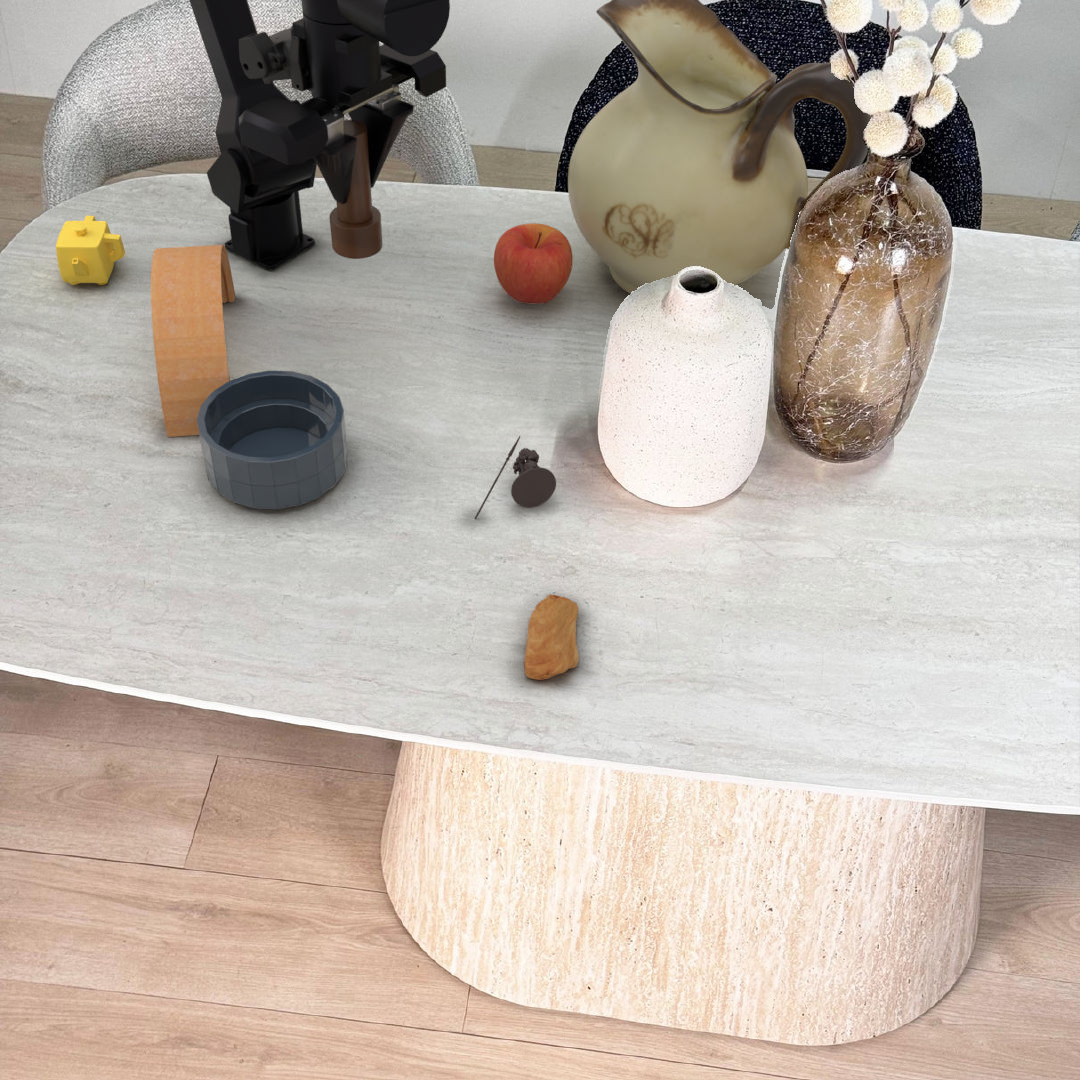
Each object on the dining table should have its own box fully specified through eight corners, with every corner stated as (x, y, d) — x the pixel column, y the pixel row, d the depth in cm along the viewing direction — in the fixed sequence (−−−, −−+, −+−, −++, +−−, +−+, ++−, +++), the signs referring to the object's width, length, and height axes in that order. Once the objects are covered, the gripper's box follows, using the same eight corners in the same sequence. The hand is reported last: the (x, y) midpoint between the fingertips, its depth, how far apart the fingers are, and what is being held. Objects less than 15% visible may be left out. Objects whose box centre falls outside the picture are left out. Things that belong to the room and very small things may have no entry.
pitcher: (542, 216, 131) (558, -29, 113) (759, 206, 135) (809, -32, 117) (584, 348, 116) (611, 90, 98) (828, 333, 120) (896, 82, 102)
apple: (549, 270, 124) (553, 197, 119) (582, 310, 120) (588, 236, 114) (480, 285, 122) (481, 212, 116) (512, 327, 117) (515, 252, 112)
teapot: (120, 299, 118) (109, 251, 114) (57, 299, 118) (44, 251, 114) (135, 252, 124) (125, 205, 120) (75, 252, 123) (63, 204, 120)
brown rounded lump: (495, 666, 89) (556, 701, 88) (498, 649, 88) (560, 684, 87) (547, 594, 94) (605, 626, 93) (550, 576, 92) (611, 609, 91)
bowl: (276, 405, 108) (269, 353, 104) (375, 459, 104) (372, 407, 100) (178, 474, 102) (166, 421, 98) (279, 535, 97) (271, 482, 93)
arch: (237, 295, 119) (223, 200, 112) (236, 432, 106) (220, 334, 98) (174, 299, 119) (155, 203, 111) (164, 437, 105) (143, 338, 98)
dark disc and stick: (519, 435, 96) (502, 407, 99) (473, 518, 99) (458, 489, 102) (577, 451, 99) (559, 423, 102) (531, 531, 102) (515, 502, 105)
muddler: (355, 227, 114) (346, 110, 106) (392, 244, 112) (386, 126, 104) (321, 247, 111) (310, 129, 103) (359, 264, 109) (349, 146, 101)
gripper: (345, -50, 106) (358, 126, 117) (175, 19, 95) (206, 206, 106) (448, -15, 101) (451, 164, 112) (281, 60, 90) (303, 251, 101)
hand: (354, 194), depth 108 cm, fingers closed on muddler, 3 cm apart
